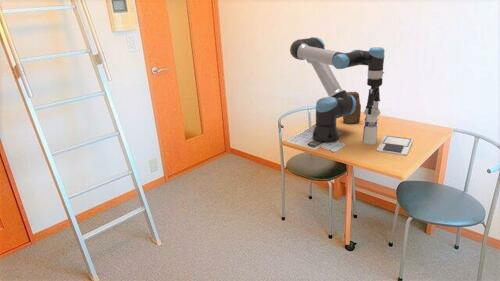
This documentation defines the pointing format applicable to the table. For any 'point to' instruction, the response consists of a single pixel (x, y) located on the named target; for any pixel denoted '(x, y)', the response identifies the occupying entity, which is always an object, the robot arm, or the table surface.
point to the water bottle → (371, 128)
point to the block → (356, 114)
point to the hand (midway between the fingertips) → (372, 116)
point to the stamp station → (395, 145)
